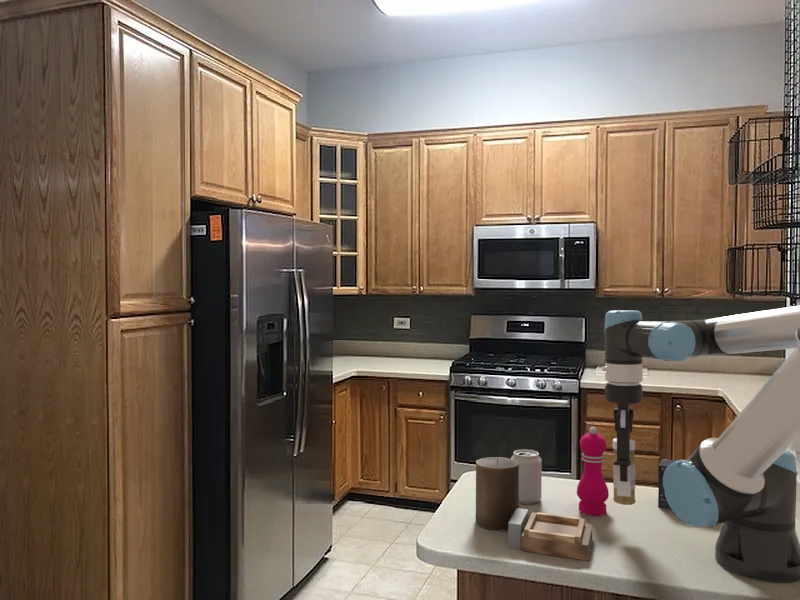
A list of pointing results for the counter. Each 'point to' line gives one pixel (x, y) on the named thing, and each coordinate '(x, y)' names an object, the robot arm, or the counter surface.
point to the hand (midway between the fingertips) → (624, 491)
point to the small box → (661, 495)
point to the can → (529, 475)
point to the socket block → (557, 536)
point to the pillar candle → (496, 492)
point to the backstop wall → (517, 527)
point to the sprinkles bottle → (631, 500)
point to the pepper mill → (592, 475)
